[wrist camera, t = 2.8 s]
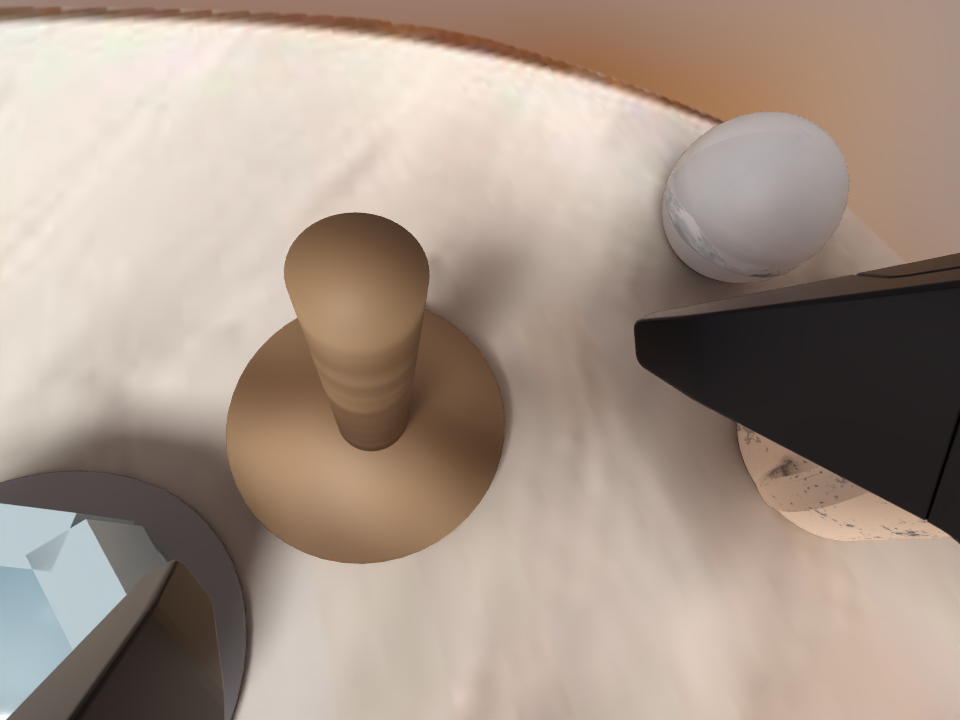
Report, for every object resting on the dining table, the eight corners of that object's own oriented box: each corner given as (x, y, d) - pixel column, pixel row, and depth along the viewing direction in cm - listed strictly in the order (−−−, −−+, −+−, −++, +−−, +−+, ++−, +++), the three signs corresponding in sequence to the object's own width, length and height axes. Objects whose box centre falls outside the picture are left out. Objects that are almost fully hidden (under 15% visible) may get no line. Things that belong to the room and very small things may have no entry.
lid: (485, 579, 19) (620, 610, 8) (192, 543, 18) (-124, 522, 7) (509, 332, 23) (619, 133, 12) (277, 288, 22) (169, 23, 11)
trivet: (165, 972, 13) (159, 983, 13) (-386, 961, 12) (-410, 974, 12) (290, 498, 19) (288, 497, 18) (-83, 447, 17) (-93, 445, 17)
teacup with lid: (819, 341, 26) (1108, 197, 16) (928, 498, 24) (1361, 451, 13) (647, 419, 23) (874, 299, 12) (755, 614, 20) (1162, 678, 10)
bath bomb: (671, 324, 25) (788, 229, 18) (612, 202, 28) (693, 75, 20) (787, 296, 27) (934, 201, 20) (723, 185, 30) (832, 65, 22)
